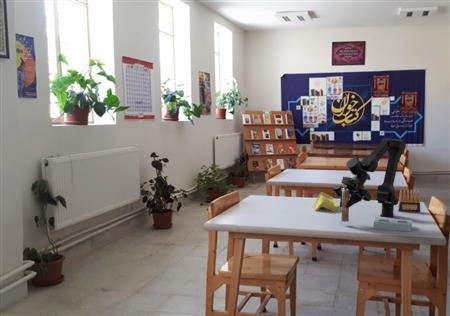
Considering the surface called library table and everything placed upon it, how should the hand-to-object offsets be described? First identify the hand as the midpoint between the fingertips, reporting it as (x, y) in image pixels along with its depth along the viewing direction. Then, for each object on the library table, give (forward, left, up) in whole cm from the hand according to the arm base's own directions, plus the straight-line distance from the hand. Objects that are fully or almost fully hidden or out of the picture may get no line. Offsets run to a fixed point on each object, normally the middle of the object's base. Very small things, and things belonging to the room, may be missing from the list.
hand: (343, 207), depth 226 cm
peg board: (-4, +22, -9) cm, 24 cm away
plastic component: (-39, -15, -9) cm, 43 cm away
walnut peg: (-1, +1, -7) cm, 7 cm away
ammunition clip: (-45, +28, -9) cm, 54 cm away
